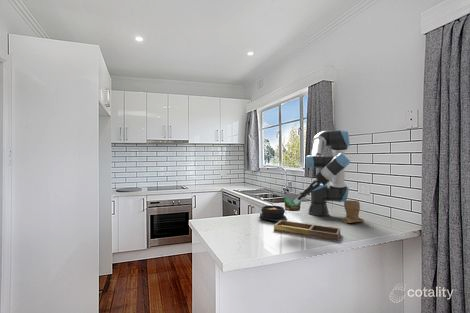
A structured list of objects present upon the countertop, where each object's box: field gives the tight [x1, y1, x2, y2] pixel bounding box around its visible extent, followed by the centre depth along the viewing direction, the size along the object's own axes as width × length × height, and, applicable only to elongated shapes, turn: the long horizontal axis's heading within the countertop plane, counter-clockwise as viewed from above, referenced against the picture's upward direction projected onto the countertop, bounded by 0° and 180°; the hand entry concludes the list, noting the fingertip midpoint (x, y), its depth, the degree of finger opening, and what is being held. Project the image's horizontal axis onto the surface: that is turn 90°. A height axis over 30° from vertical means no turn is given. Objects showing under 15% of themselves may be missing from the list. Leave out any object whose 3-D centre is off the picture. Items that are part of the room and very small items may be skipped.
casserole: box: [259, 205, 288, 222], centre depth 178 cm, size 25×19×8 cm
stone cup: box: [341, 199, 365, 224], centre depth 174 cm, size 15×12×15 cm
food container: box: [282, 193, 302, 212], centre depth 150 cm, size 12×6×10 cm, turn 110°
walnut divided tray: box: [273, 220, 341, 242], centre depth 148 cm, size 13×36×4 cm, turn 62°
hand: (296, 201), depth 151 cm, fingers closed on food container, 9 cm apart
